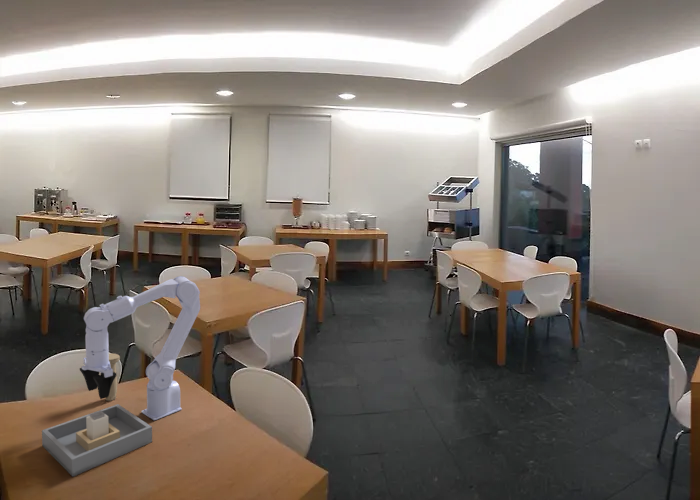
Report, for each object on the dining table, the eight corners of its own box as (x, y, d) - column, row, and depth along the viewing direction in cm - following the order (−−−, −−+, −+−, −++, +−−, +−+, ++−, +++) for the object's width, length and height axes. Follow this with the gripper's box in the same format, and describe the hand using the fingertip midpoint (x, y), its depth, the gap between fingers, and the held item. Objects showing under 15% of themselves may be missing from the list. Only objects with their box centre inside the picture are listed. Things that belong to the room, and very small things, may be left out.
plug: (102, 434, 120) (101, 408, 119) (108, 440, 117) (108, 413, 116) (86, 440, 116) (86, 414, 116) (93, 446, 114) (92, 419, 113)
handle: (110, 404, 139) (109, 360, 137) (97, 399, 142) (96, 356, 140) (123, 398, 143) (122, 356, 141) (111, 394, 146) (110, 352, 144)
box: (118, 417, 131) (118, 404, 130) (152, 441, 119) (152, 426, 119) (42, 445, 115) (41, 430, 114) (72, 476, 103) (72, 459, 103)
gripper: (71, 346, 124) (72, 390, 125) (93, 359, 115) (94, 406, 117) (97, 340, 129) (98, 382, 131) (120, 352, 121) (120, 397, 122)
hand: (98, 393), depth 124 cm, fingers open, 7 cm apart
